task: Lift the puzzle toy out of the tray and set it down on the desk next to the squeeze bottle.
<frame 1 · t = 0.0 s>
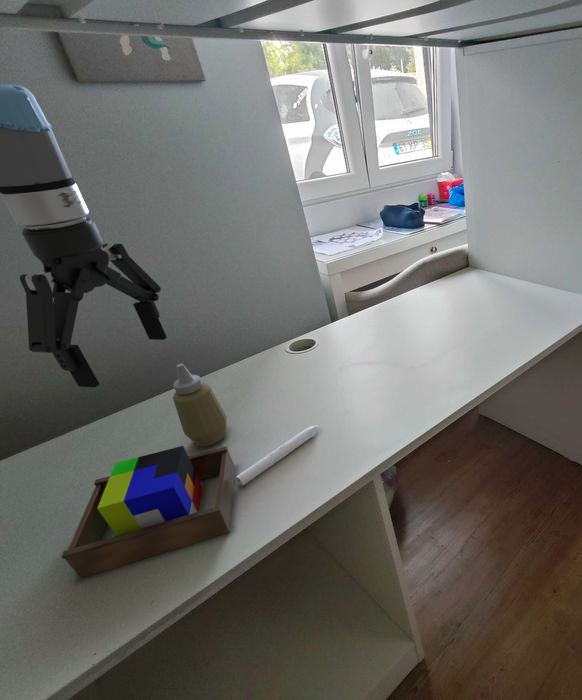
hand: (126, 360, 69), 27 cm above the table, tool pointing down, fingers open, 13 cm apart
marker: (283, 456, 88), on the table
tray: (167, 516, 76), on the table
squeeze bottle: (211, 437, 93), on the table
puzzle toy: (168, 517, 76), resting in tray
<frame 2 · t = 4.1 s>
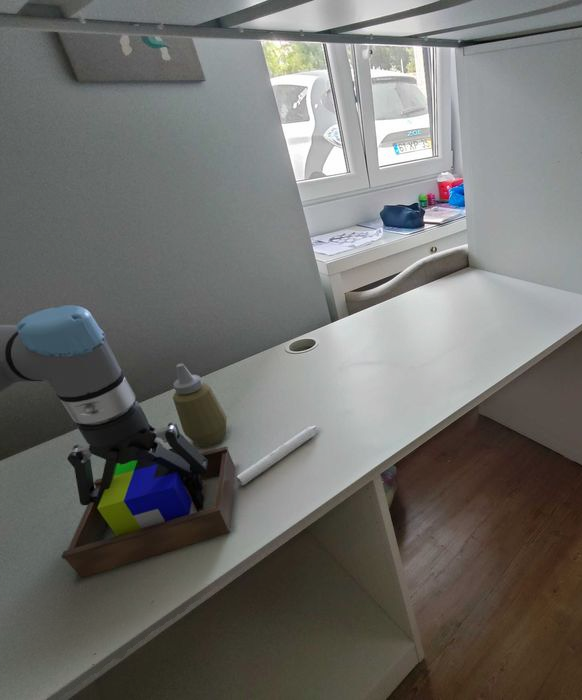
hand: (165, 513, 75), 1 cm above the table, tool pointing down, fingers closed on puzzle toy, 10 cm apart
puzzle toy: (167, 517, 76), resting in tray, touching gripper
everything else where it was.
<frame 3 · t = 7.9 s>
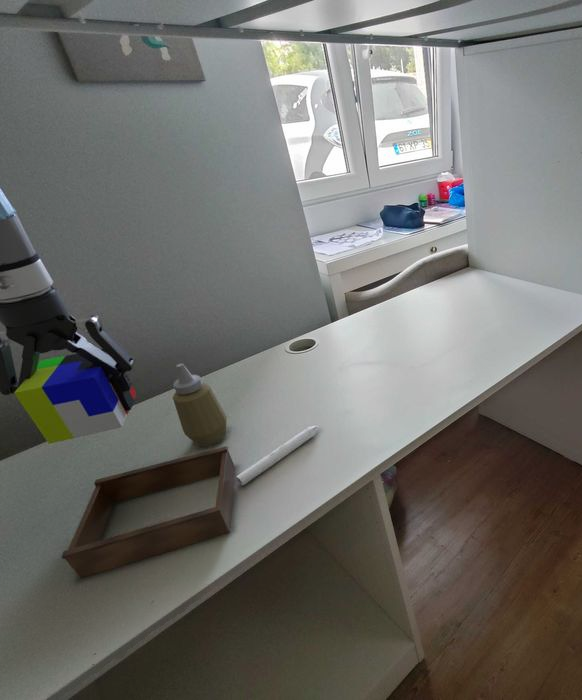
hand: (93, 413, 75), 16 cm above the table, tool pointing down, fingers closed on puzzle toy, 10 cm apart
puzzle toy: (96, 418, 76), point 15 cm above the table, touching gripper
everything else where it was.
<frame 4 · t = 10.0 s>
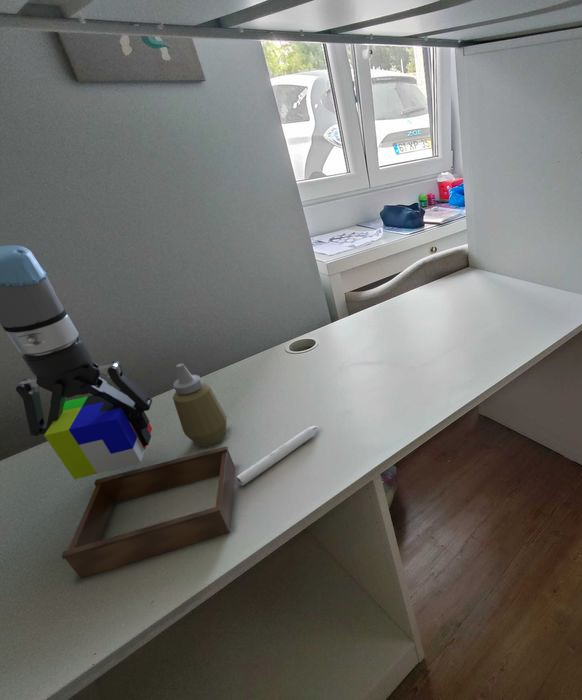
hand: (114, 449, 82), 6 cm above the table, tool pointing down, fingers closed on puzzle toy, 10 cm apart
puzzle toy: (116, 453, 82), point 5 cm above the table, touching gripper
everything else where it was.
when the fingers open (1 cm above the table, at t = 11.8 s): puzzle toy stays where it is, on the table.
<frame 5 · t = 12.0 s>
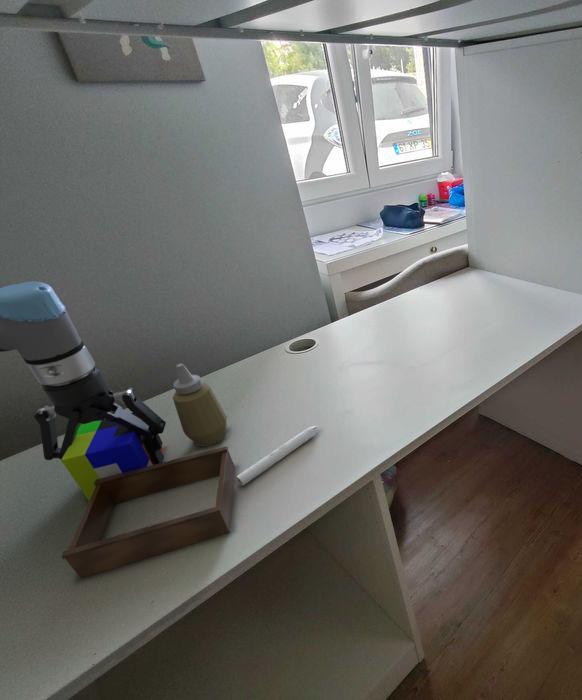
hand: (126, 470, 84), 1 cm above the table, tool pointing down, fingers open, 11 cm apart
puzzle toy: (128, 474, 85), on the table
everything else where it was.
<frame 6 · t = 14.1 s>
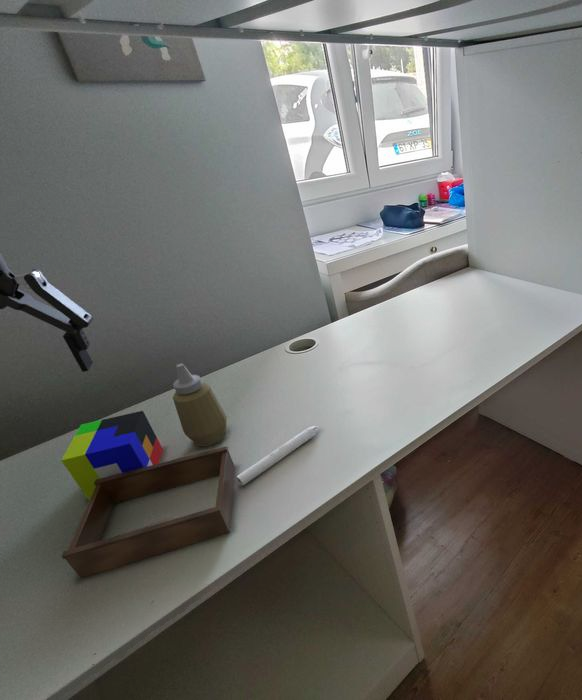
hand: (36, 376, 70), 24 cm above the table, tool pointing down, fingers open, 13 cm apart
nothing on the table moved.
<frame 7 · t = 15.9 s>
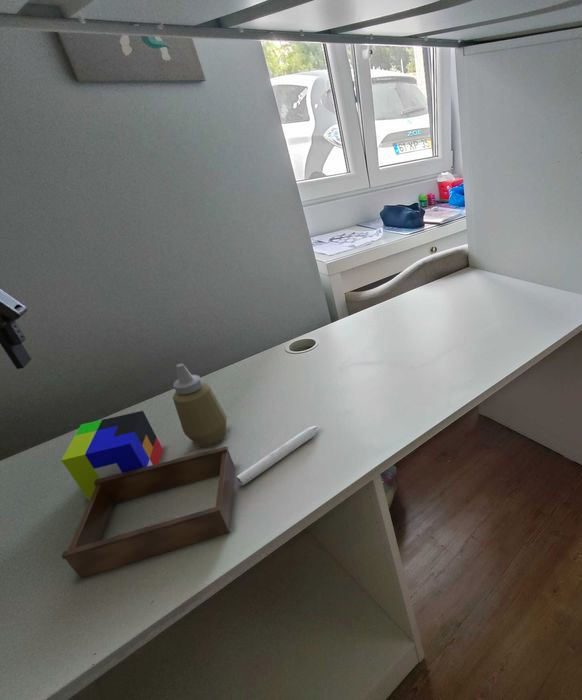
nothing on the table moved.
at the end: puzzle toy inside the target area (0.1 cm from its centre), on the table; puzzle toy 14.8 cm from the squeeze bottle (horizontally); puzzle toy tilted 0° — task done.
